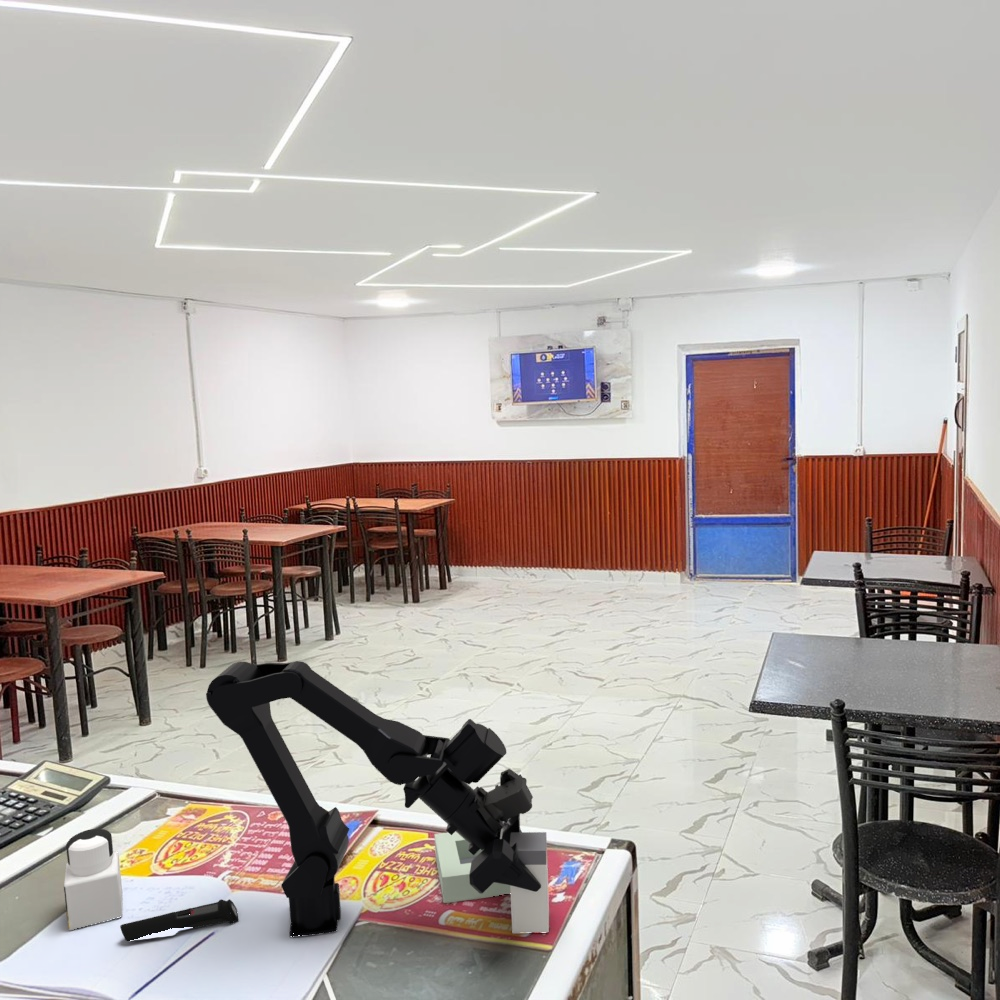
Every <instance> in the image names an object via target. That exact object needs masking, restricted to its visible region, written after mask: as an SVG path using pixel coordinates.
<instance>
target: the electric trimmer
mask: <svg viewBox="0 0 1000 1000" xmlns="http://www.w3.org/2000/svg"><path fill="white" fill-rule="evenodd" d="M237 912H238V908H237V907H236V905H235V903H234V902H233V901H232V900H231V899H230V898H228V900H224V899H219V900H218V901H216V902H213V903H212V902H211V903H208V904H204V905H199V906H198V905H197V906H195V907H189V908H186V909H182V910H177V911H172V912H169V913H165V914H160V915H156V916H153V917H149V918H144V919H139V920H135V921H131V922H127V923H123V924H120V926H119V927H120V931H121V933H122V935H123V936H122V937H123V938H124V940H125V941H126V942H129V941H130V940H134V939H138V938H140V937H143V936H146V935H148V934H149V935H151V934H152V933H158V932H161V931H165V930H168V929H170V928H171V929H172V928H184V927H193V929H198V928H203V927H207V926H212V925H216V924H222V923H229V924H230V925H233V923H234V924H235V922H239V921H238V920H239V913H237ZM189 914H190V915H189Z"/></svg>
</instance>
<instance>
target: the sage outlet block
mask: <svg viewBox="0 0 1000 1000" xmlns="http://www.w3.org/2000/svg"><path fill="white" fill-rule="evenodd" d="M433 835H434V849H435V854H434V856H435V862H436V867H437V873H438V874H437V875H438V879H439V884H440V890H441V896H442V901H443V904H449V903H456V902H464V901H470V900H478V899H485V898H486V899H487V898H494V897H493V896H495V897H500V896H499V895H502V894H510V893H511V890H510V885H506V884H501V883H495V882H494V883H493V884H492V885H491V886H490V887H489V888H488V889H486V890H485V891H484V892H483V893H481V894H480V893H479V892H478V891H477V890H476V889H474V888H473V887H472V886H471V885H470V879H469V874H470V868H471V863H472V860H473V859H474V858H475V857H476V856H478V855H479V854H480V853H481V852H482V851H483V850H484V849H483V850H481V849H480V850H479V851H478V852H477V853H476V854H475V855H473V854H472V853H470V852H469V851H468V849H469V843H468V842H467V841H466V840H465V839H464V838H462V837H461V836H460V835H459V834H458V833H457V832H456V831H455V832H454V833H453V834H452V835H451V834H449V833H448V832H447V831H446V832H439V833H434V834H433ZM510 895H511V894H510ZM502 896H503V895H502Z"/></svg>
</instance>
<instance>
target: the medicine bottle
mask: <svg viewBox="0 0 1000 1000" xmlns="http://www.w3.org/2000/svg"><path fill="white" fill-rule="evenodd" d="M65 848H66V857H67V858H66V859H67V862H66V864H65V871H64V872H65V873H64V882H63V891H64V900H65V909H66V918H67V927H68V930H69V931H74V929H75V930H78V929H77V928H79V929H82V928H81V927H83V928H86V927H85V926H87V927H89V926H88V925H91V924H95V923H99V922H103V921H107V920H110V919H113V918H117V917H120V916H122V917H123V915H124V914H123V910H124V909H123V904H124V903H123V900H124V899H123V885H122V875H121V865H120V855H119V852H118V851H117V850H115V851H114V847H113V837H112V832H110V831H109V830H107V829H104V828H91V829H86V830H84V831H81V832H78V833H76V834H74V835H73V836H72V837H71V838H69V839H68V841H67V842H66V844H65ZM107 922H108V921H107ZM103 923H104V922H103ZM99 924H100V923H99ZM95 925H96V924H95ZM91 926H92V925H91Z"/></svg>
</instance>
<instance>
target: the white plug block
mask: <svg viewBox="0 0 1000 1000" xmlns="http://www.w3.org/2000/svg"><path fill="white" fill-rule="evenodd" d="M516 842H517V850H518V858H519V859H520V860H521V861H522V862H523V864H524V865H525V866H526V867H527V868H528V869H529V871H530V872H531V873H532V874H533V875H534V876H535V878H536V879H537V880H538V882H539V883H540V884H541V888H540V889H539V890H538V891H537V892H534V891H531V890H527V889H523V888H519V887H515V886H511V885H510V890H511V894H510V906H511V907H510V909H511V910H510V911H511V913H510V914H511V931H512V932H511V934H521V933H520V932H549V933H550V931H549V930H550V902H549V901H550V899H549V872H548V871H549V870H548V846H547V845H548V843H547V832H545V831H542V832H540V831H538V832H537V831H535V832H534V831H533V832H532V831H531V832H530V831H529V832H525V831H524V832H511V836H510V846H511V847H512V846H513V845H514V844H515V843H516Z"/></svg>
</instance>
